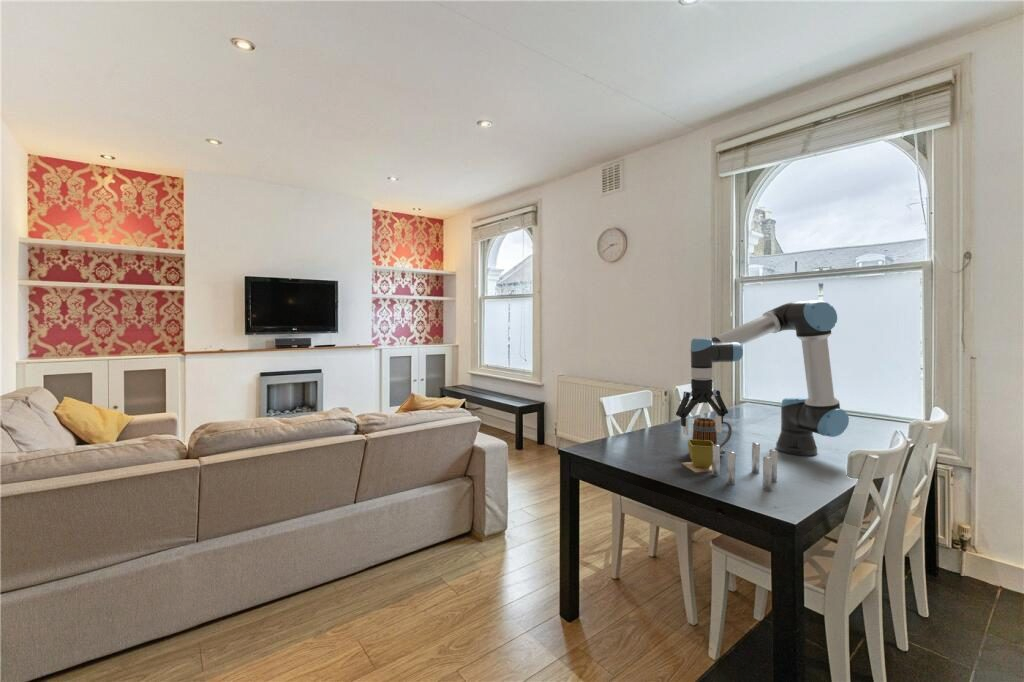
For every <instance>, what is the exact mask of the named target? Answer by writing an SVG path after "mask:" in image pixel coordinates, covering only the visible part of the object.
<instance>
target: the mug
mask: <svg viewBox="0 0 1024 682" xmlns="http://www.w3.org/2000/svg"><path fill="white" fill-rule="evenodd" d="M722 425H726V426H727V429H728V430H727V431H728V432H727V435H726V438H724V440H722V441H721V442H720V443H719V444H718V440H717V439H718V438H717V432H716V419H713V418H710V417H696V418H694V420H693V426H692V429H693V430H692V438H691V440H709V441H712V442H713V444H717V445H720V455H725V454H726V450H725V449H722V447H724V446H725V445H726V444H727V443H728V442H729V440H730V439H731V436H732V433H733V432H732V431H733V430H732V426H731V424H730V423H729V422H728V421H726V420H723V424H722ZM721 449H722V450H721Z"/></svg>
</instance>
